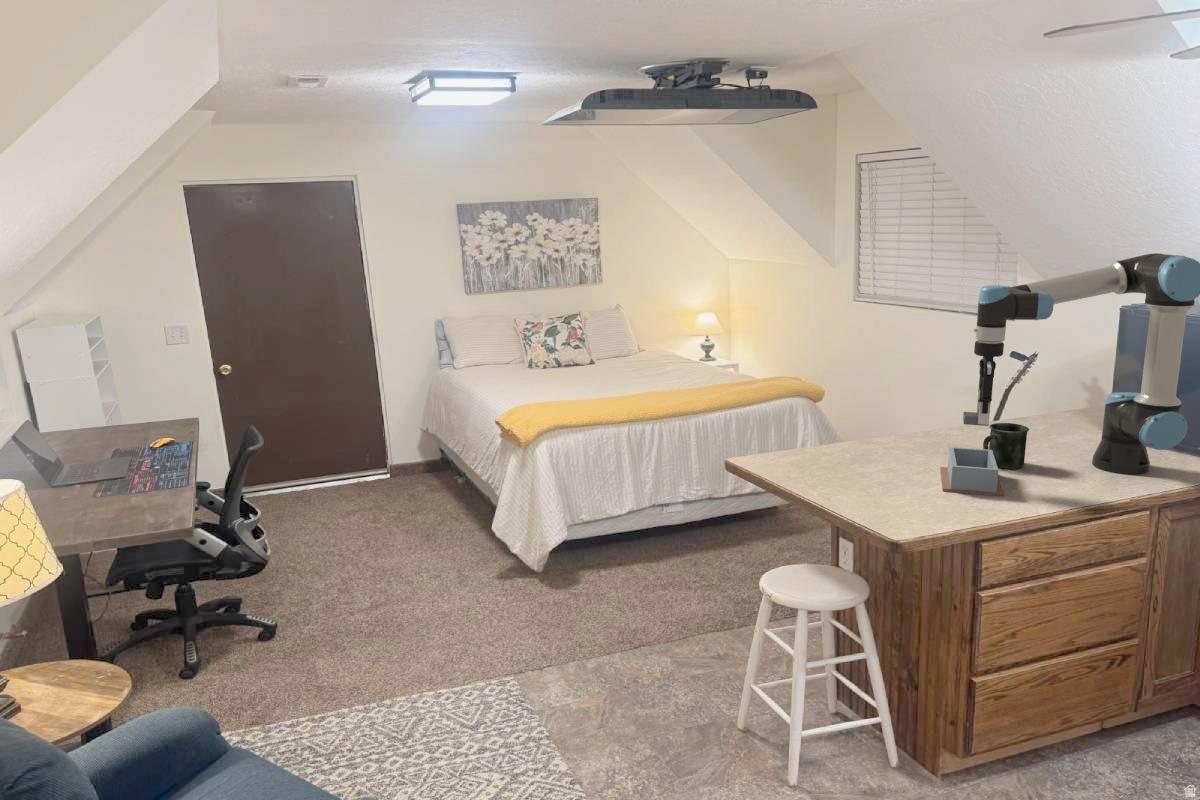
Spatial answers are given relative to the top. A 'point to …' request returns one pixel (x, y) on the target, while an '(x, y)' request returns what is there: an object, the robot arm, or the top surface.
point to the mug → (1007, 444)
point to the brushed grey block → (973, 414)
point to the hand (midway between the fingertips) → (982, 421)
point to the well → (971, 472)
